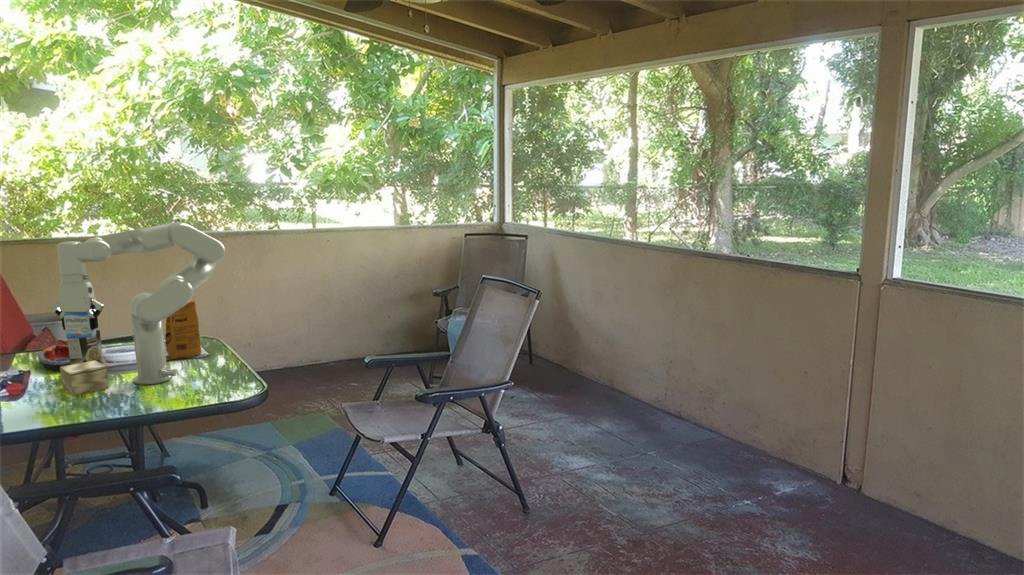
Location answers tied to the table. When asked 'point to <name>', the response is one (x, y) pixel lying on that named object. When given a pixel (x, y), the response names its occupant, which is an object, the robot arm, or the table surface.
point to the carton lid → (82, 367)
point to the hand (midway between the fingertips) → (80, 328)
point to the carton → (84, 381)
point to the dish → (55, 357)
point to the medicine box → (78, 325)
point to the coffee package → (183, 332)
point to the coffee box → (85, 349)
